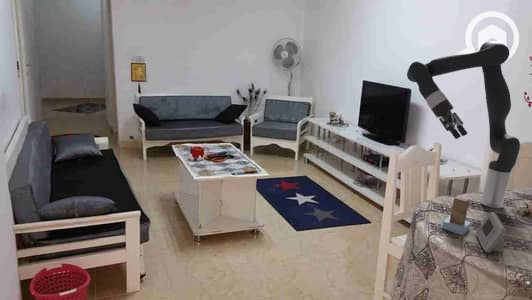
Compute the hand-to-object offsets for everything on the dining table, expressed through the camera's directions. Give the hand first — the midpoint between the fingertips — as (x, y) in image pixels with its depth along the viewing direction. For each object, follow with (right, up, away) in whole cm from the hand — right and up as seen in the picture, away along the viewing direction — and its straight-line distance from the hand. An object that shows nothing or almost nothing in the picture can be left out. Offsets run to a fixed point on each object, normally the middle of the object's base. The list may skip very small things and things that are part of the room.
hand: (462, 136), depth 175 cm
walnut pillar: (-4, -34, -4) cm, 34 cm away
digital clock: (+3, -41, -14) cm, 43 cm away
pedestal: (-4, -37, -3) cm, 37 cm away
